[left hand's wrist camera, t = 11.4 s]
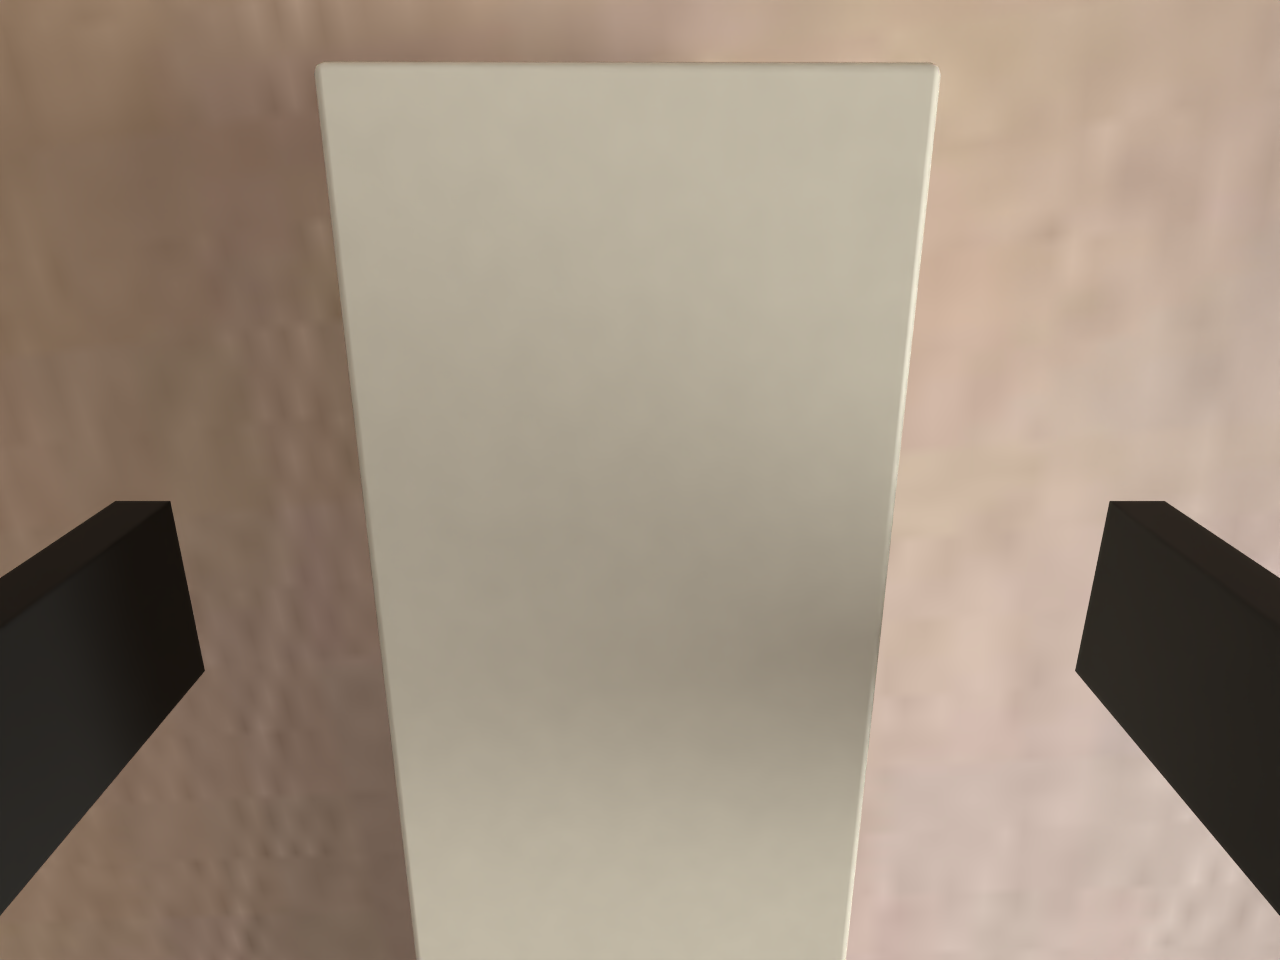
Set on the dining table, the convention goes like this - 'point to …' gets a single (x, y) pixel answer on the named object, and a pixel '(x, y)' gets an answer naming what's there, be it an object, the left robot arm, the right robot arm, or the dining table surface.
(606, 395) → the beam
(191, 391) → the dining table surface
